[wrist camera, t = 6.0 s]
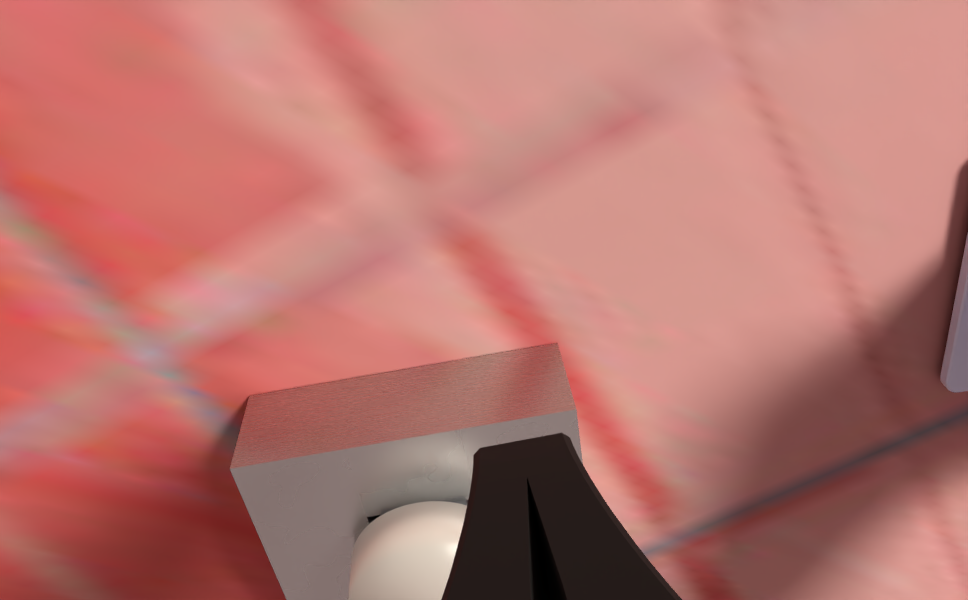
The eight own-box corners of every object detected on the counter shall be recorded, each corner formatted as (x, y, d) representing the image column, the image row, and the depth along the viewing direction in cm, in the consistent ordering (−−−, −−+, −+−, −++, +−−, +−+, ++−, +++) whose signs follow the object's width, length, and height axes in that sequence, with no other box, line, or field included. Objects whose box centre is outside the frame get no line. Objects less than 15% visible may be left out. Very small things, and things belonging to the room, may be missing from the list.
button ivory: (491, 433, 23) (505, 532, 20) (511, 538, 25) (526, 641, 22) (339, 459, 23) (329, 562, 20) (374, 561, 25) (369, 668, 22)
